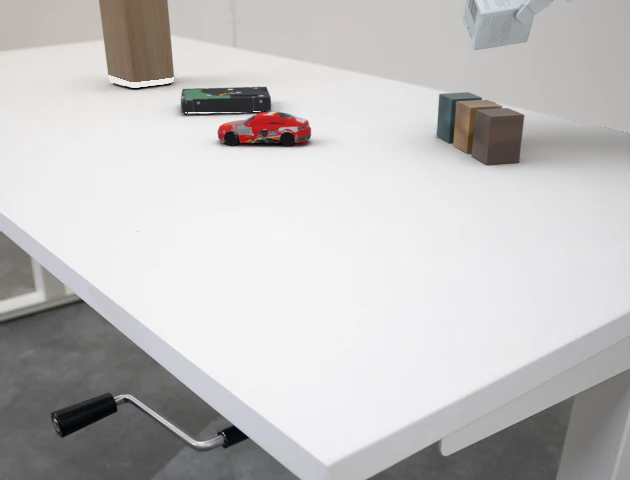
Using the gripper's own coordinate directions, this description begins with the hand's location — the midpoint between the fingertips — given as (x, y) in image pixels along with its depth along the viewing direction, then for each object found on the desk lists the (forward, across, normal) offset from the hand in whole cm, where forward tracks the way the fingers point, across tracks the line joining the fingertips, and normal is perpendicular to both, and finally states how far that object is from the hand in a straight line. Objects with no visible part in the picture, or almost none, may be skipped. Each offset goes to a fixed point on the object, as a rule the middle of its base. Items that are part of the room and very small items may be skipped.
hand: (505, 15), depth 98 cm
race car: (+33, +4, +14) cm, 36 cm away
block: (+49, +57, +29) cm, 81 cm away
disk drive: (+37, +30, +17) cm, 50 cm away
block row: (+15, -4, -7) cm, 17 cm away
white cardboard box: (+3, 0, +4) cm, 5 cm away
